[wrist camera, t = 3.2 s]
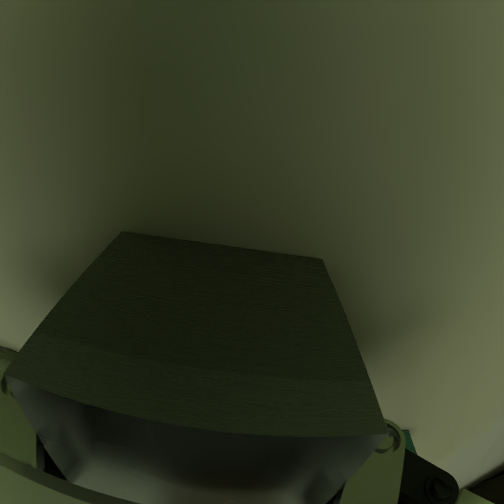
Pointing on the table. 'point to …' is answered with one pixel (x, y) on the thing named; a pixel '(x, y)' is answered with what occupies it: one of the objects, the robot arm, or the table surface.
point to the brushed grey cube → (200, 377)
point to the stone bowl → (491, 490)
